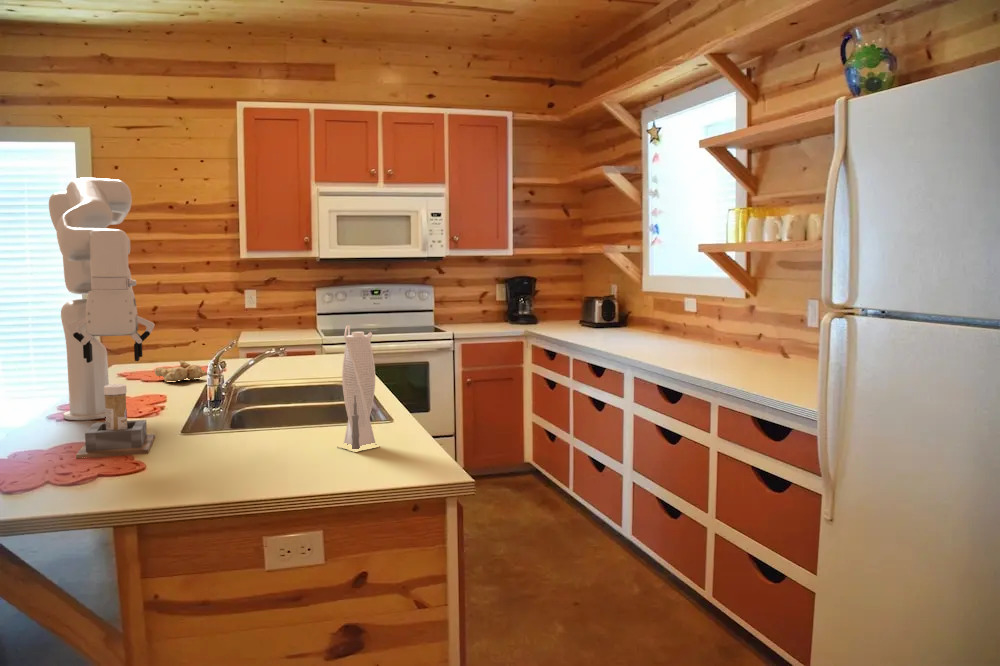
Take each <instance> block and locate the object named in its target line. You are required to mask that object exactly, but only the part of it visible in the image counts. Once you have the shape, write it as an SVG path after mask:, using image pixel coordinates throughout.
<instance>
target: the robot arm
mask: <svg viewBox="0 0 1000 666" xmlns="http://www.w3.org/2000/svg"><path fill="white" fill-rule="evenodd" d="M48 199H49V200H48V210H49V217H50V219H51V222H52V225H53V227H54V229H55V232H56V238H57V239H56V240H57V243H58V247H59V250H60V252H61V255H62V264H63V277H64V282H65V287H66V289H67V290H68V292H69V293H71V294H75V295H87V297H86V298H79V299H73V300H70V301H68V302H66V303H64V304H63V306H62V307H61V310H60V319H61V323H62V327H63V332H64V338H65V339H64V340H65V347H66V363H67V378H68V379H67V380H68V381H67V382H68V401H69V402H68V403H69V404H68V405H69V410H68V411H66V412H63V414H62V415H63V416H62V417H63V419H64V420H69V421H90V420H99V419H106V418H105V396H104V395H105V394H104V386H106V385H110V383H109V364H108V363H109V360H108V350H107V348H106V346H105V345H104V344H103V343H102V342H101V341H100V340H99V339H97V338H96V337H117V336H119V337H121V336H123V337H124V336H129V337H131V338H132V340H134V344H133V353H134V357H133V358H134V362H139V361H140V358H143V342H144V341H145V340H147V338H148V337H150V335H151V333H152V331H153V329H154V327H155V323H154V322H152V321H150V320H148V319H146V318H144V317H141V316H138V309H137V308H138V307H137V301H136V297H135V293H134V290H133V287H135V286H137V280H136V279H132V273H131V270H130V267H129V255H130V253H131V239H130V237H129V236H128V235H127V232H125V231H124V230H122V229H117V228H108V227H109V226H111V225H112V226H113V225H120V224H122V223H123V222H124V220H125V219H126V217H127V216H128V214H129V212H130V211H131V207H132V203H133V198H132V192H131V189H130V187H129V186H128V185H127V183H125V182H124V181H123V180H120V179H115V178H114V179H113V178H112V179H111V178H100V177H99V178H98V177H97V178H96V177H80V178H79V177H78V178H76V179H73V180H72V181H70V182H69V183H68V185H67V187H66V190H65V191H64V190H63V191H58V192H54V193H52V194H51V195H50V197H49V198H48ZM139 324H140V325H142V326H145V327H146V329H145V330H144V332H143V333H142V334H140V333H139V332H138V330H139Z"/></svg>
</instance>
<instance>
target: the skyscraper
mask: <svg viewBox="0 0 1000 666" xmlns="http://www.w3.org/2000/svg"><path fill="white" fill-rule="evenodd" d="M344 329H345V330H344V334H343V335H344V337H343V339H344V341H345V347H344V353H343V360H342V372H341V374H342V375H341V377H342V378H341V379H342V392H343V393H342V394H343V398H344V399H343V400H344V406H345V411H346V415H347V418H348V420H347V424H346V429H345V430H346V431H345V434H344V439H343V444H344V443H347V445H348V444H351V445H352V449H359V448H360V446H362V445H366V444H371V443H376V439H375V435H374V431H373V426H372V423H371V419H370V416H371V412H372V409H373V404H374V398H375V389H376V366H375V365H376V364H375V359H374V358H375V357H374V352H373V348H372V342H371V340H372V336H373V333H372V331H369V332H368V334H365V332H364V331H351V325H350V323H349V324H347V325H346V326H345V328H344Z"/></svg>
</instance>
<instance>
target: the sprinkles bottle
mask: <svg viewBox="0 0 1000 666" xmlns="http://www.w3.org/2000/svg"><path fill="white" fill-rule="evenodd" d="M127 392H128V391H127V385H126V384H124V383H113V384H109V385H106V386H104V394H105V395H104V396H105V417H106V418H105V422H106V430H118V429H127V421H128V412H127V410H128V409H127Z"/></svg>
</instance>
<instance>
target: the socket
mask: <svg viewBox="0 0 1000 666" xmlns="http://www.w3.org/2000/svg"><path fill="white" fill-rule="evenodd" d="M147 430H148V429H147V419H138V420H137V419H136V420H127V429H118V430H106V421H104V422H103V421H102V422H93V423H92V425H90V427H89V428H88V429H87V431H85V433H84V436H85V437H84V438H85V439H84V440H85V441H84V442H85V443H84V444H83V445H82V447H80V449H79V450H78V452H77V453H76V454H75V459H76V458H80V459H85V458H84V457H93V458H103V457H104V458H106V457H114V456H115V457H116V456H117V457H119V455H120V456H131V455H132V456H133V455H147V454H149V451H150V450H151V447H152V445H153V443H154V440H155V437H156V433H147ZM82 457H83V458H82Z"/></svg>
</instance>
